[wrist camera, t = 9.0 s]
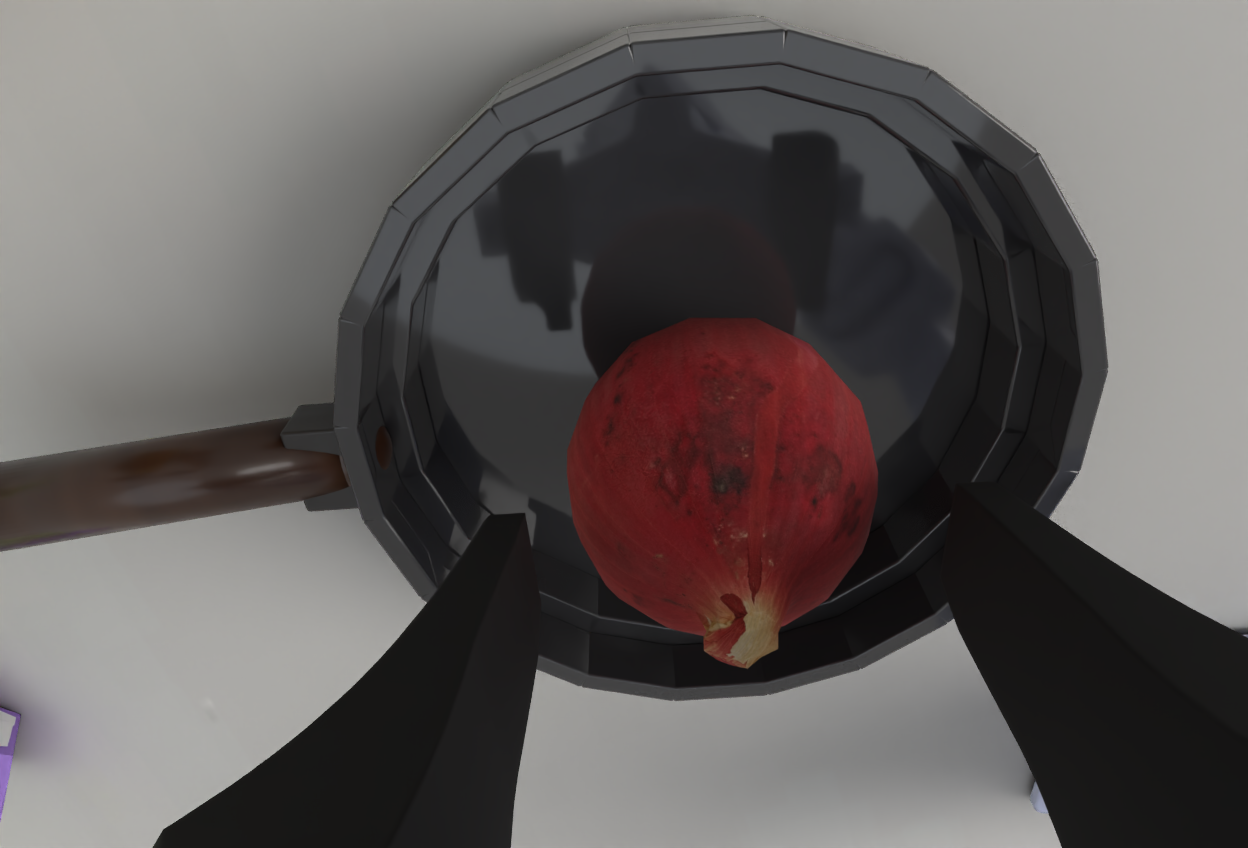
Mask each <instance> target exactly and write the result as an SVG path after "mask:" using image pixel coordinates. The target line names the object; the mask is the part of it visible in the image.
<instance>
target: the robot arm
mask: <svg viewBox="0 0 1248 848" xmlns="http://www.w3.org/2000/svg"><path fill="white" fill-rule="evenodd" d="M939 577H940V580H941V583H942V586H943V589H944V592H945V595H946V597H947V600H948V603H949V606H950V609H951V611H952V614H953V617H954V619H955V622H956V625H957V627H958V630H959V632H960V634H961V636H962V638H963V640H964V642H965V644H966V646H967V648H968V650H969V652H970V654H971V656H972V658H973V659H974V661H975V663H976V665H977V667H978V669H979V671H980V673H981V675H982V677H983V679H984V681H985V682H986V684H987V686H988V688H989V690H990V692H991V694H992V696H993V698H994V699H995V701H996V703H997V705H998V707H999V709H1000V711H1001V713H1002V715H1003V717H1004V718H1005V720H1006V722H1007V724H1008V726H1009V728H1010V730H1011V732H1012V734H1013V735H1014V737H1015V739H1016V741H1017V743H1018V745H1019V747H1020V749H1021V751H1022V753H1023V755H1024V757H1025V759H1026V761H1027V763H1028V765H1029V768H1030V770H1031V772H1032V774H1033V776H1034V778H1035V783H1034V787H1033V790H1032V793H1031V796H1030V801H1031V803H1032V805H1033V807H1034V809H1035V810H1036V811H1038V812H1041V813H1049V816H1050V818H1051V821H1052V823H1053V826H1054V828H1055V830H1056V833H1057V835H1058V838H1059V841H1060V843H1061V846H1062V848H1248V634H1246V635H1241V634H1239V633H1237V632H1236V631H1234V630H1232V629H1230V628H1228V627H1226V626H1224V625H1222V624H1220V623H1218V622H1216V621H1214V620H1212V619H1211V618H1209V617H1207V616H1205V615H1203V614H1201V613H1199V612H1197V611H1195V610H1193V609H1191V608H1190V607H1188V606H1186V605H1184V604H1182V603H1181V602H1179V601H1177V600H1175V599H1173V598H1172V597H1170V596H1168V595H1166V594H1165V593H1163V592H1161V591H1160V590H1158V589H1156V588H1155V587H1153V586H1151V585H1150V584H1148V583H1146V582H1145V581H1143V580H1141V579H1140V578H1138V577H1136V576H1135V575H1133V574H1131V573H1130V572H1128V571H1127V570H1125V569H1124V568H1122V567H1120V566H1119V565H1117V564H1116V563H1114V562H1113V561H1111V560H1109V559H1108V558H1106V557H1105V556H1103V555H1102V554H1100V553H1099V552H1097V551H1096V550H1094V549H1093V548H1091V547H1090V546H1088V545H1087V544H1085V543H1084V542H1082V541H1081V540H1079V539H1078V538H1076V537H1075V536H1073V535H1072V534H1070V533H1069V532H1067V531H1066V530H1064V529H1063V528H1062V527H1060V526H1059V525H1057V524H1056V523H1054V522H1053V521H1051V520H1050V519H1049V518H1047V517H1046V516H1044V515H1043V514H1041V513H1040V512H1039V511H1037V510H1036V509H1034V508H1033V507H1031V506H1030V505H1028V504H1027V503H1026V502H1024V501H1023V500H1021V499H1020V498H1018V497H1017V496H1015V495H1014V494H1012V493H1011V492H1009V491H1008V490H1006V489H1005V488H1003V487H1002V486H1000V485H999V484H997V483H995V482H994V481H985V482H970V483H956V484H955V490H954V496H953V501H952V507H951V513H950V519H949V524H948V530H947V536H946V541H945V547H944V553H943V559H942V564H941V570H940V576H939ZM540 617H541V598H540V593H539V587H538V581H537V576H536V570H535V565H534V559H533V554H532V548H531V543H530V537H529V531H528V526H527V520H526V515H525V513H511V514H496V515H489V516H488V517H487V518H486V519H485V520H484V522H483V523H482V525H481V526H480V528H479V529H478V531H477V533H476V534H475V536H474V537H473V539H472V540H471V542H470V543H469V545H468V546H467V548H466V549H465V551H464V552H463V554H462V555H461V557H460V558H459V560H458V561H457V563H456V564H455V565H454V567H453V568H452V570H451V571H450V573H449V574H448V575H447V577H446V578H445V579H444V581H443V582H442V583H441V585H440V586H439V588H438V589H437V590H436V592H435V593H434V594H433V596H432V597H431V598H430V600H429V601H428V602H427V604H426V605H425V606H424V608H423V609H422V610H421V611H420V612H419V614H418V615H417V616H416V617H415V618H414V620H413V621H412V622H411V623H410V625H409V626H408V627H407V628H406V629H405V631H404V632H403V633H402V634H401V635H400V637H399V638H398V639H397V640H396V641H395V642H394V644H393V645H392V646H391V647H390V648H389V649H388V650H387V651H386V653H385V654H384V655H383V656H382V657H381V658H380V659H379V660H378V661H377V662H376V663H375V664H374V665H373V666H372V668H371V669H370V670H369V671H368V672H367V673H366V674H365V675H364V676H363V677H362V678H361V679H360V680H359V681H358V682H357V683H356V684H355V685H354V686H353V687H352V688H351V689H350V690H348V691H347V692H346V693H345V694H344V695H343V696H342V697H341V698H340V699H339V700H338V701H337V702H335V703H334V704H333V705H332V706H331V707H330V708H329V709H327V710H326V711H325V712H324V713H323V714H322V715H321V716H320V717H318V718H317V719H316V720H315V721H314V722H313V723H312V724H311V725H309V726H308V727H307V728H306V729H305V730H304V731H302V732H301V733H300V734H299V735H297V736H296V737H295V738H294V739H292V740H291V741H290V742H289V743H287V744H286V745H285V746H283V747H282V748H281V749H280V750H278V751H277V752H276V753H275V754H273V755H272V756H271V757H269V758H268V759H267V760H265V761H264V762H263V763H261V764H260V765H258V766H257V767H256V768H254V769H253V770H252V771H250V772H249V773H248V774H246V775H245V776H243V777H242V778H241V779H239V780H238V781H236V782H235V783H234V784H232V785H231V786H229V787H228V788H226V789H225V790H223V791H222V792H220V793H219V794H217V795H216V796H214V797H213V798H211V799H210V800H208V801H206V802H205V803H203V804H202V805H200V806H199V807H197V808H196V809H194V810H193V811H191V812H190V813H188V814H187V815H185V816H184V817H182V818H181V819H179V820H178V821H176V822H174V823H173V824H171V825H170V826H168V827H166V828H165V829H163V831H162V833H161V834H160V836H159V838H158V839H157V841H156V843H155V844H154V846H153V848H511V836H512V823H513V810H514V800H515V793H516V785H517V777H518V772H519V766H520V760H521V755H522V749H523V743H524V738H525V732H526V726H527V720H528V715H529V709H530V703H531V698H532V692H533V686H534V680H535V674H536V668H537V662H538V655H539V638H540Z"/></svg>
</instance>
